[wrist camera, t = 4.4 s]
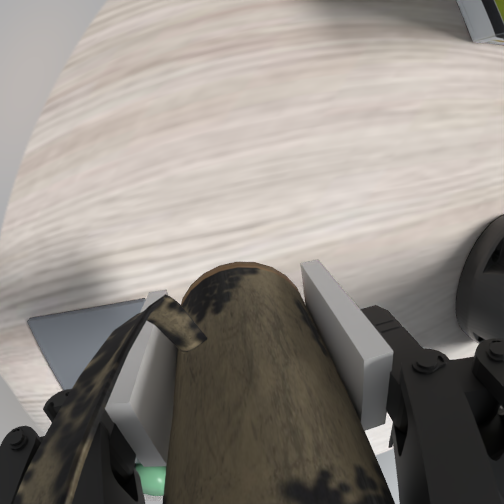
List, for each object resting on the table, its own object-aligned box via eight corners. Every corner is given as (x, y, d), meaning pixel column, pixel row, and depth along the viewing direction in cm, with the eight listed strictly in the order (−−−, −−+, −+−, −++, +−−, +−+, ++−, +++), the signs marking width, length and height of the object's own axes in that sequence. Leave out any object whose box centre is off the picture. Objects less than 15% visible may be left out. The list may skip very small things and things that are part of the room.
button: (163, 456, 27) (161, 479, 24) (175, 474, 29) (174, 495, 26) (130, 458, 27) (127, 479, 24) (144, 475, 28) (142, 495, 26)
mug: (328, 333, 14) (453, 572, 3) (230, 390, 15) (254, 632, 4) (227, 188, 12) (313, 592, 1) (118, 268, 13) (-45, 544, 1)
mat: (145, 298, 24) (143, 301, 24) (186, 405, 28) (186, 409, 28) (30, 318, 24) (27, 321, 23) (82, 412, 28) (81, 416, 27)
